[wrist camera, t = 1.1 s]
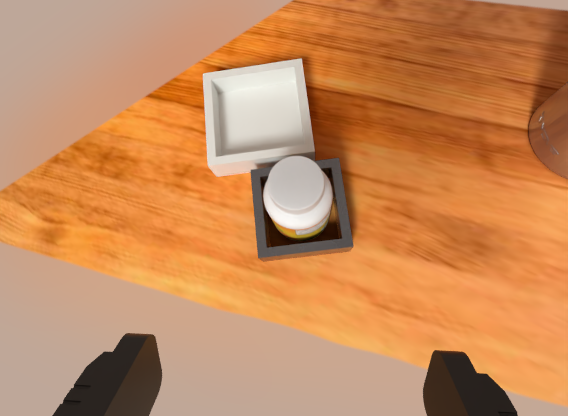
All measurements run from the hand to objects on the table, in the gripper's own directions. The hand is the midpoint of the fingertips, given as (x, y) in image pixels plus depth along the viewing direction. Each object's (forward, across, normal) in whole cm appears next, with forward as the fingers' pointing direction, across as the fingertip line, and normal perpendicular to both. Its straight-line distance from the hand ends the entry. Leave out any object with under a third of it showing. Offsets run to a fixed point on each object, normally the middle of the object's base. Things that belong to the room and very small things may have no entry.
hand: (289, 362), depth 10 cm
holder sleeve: (+22, 0, +6) cm, 23 cm away
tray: (+28, +4, -1) cm, 29 cm away
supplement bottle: (+22, 0, +6) cm, 23 cm away
